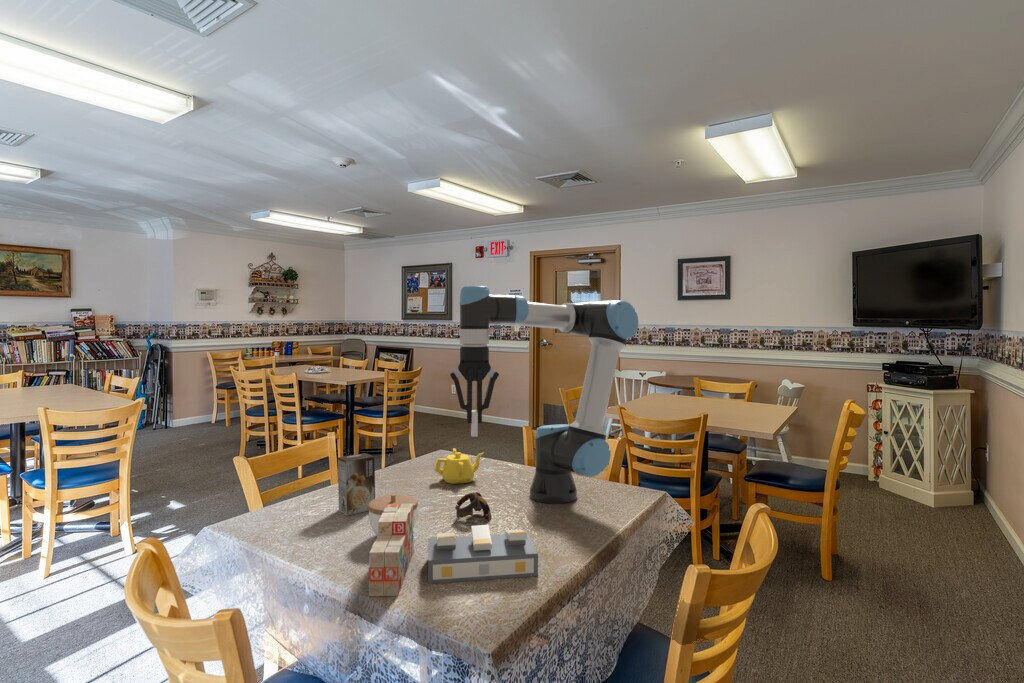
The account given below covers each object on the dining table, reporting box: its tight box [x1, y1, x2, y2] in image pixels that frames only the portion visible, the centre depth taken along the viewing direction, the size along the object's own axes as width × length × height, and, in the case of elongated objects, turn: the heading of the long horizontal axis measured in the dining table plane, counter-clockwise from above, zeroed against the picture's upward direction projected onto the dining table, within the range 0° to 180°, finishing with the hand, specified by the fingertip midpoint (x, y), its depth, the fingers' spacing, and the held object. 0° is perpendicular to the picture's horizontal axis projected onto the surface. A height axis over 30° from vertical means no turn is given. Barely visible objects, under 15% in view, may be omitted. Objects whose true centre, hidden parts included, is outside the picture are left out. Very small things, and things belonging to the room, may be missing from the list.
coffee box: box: [337, 452, 376, 517], centre depth 160 cm, size 9×6×16 cm
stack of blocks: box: [368, 504, 415, 597], centre depth 120 cm, size 21×6×12 cm, turn 2°
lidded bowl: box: [368, 493, 419, 537], centre depth 140 cm, size 13×13×11 cm
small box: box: [504, 529, 528, 541], centre depth 124 cm, size 4×7×2 cm, turn 9°
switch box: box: [427, 532, 539, 584], centre depth 123 cm, size 24×12×6 cm, turn 99°
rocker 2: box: [470, 524, 492, 551], centre depth 122 cm, size 4×7×2 cm, turn 9°
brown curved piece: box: [454, 491, 493, 522], centre depth 154 cm, size 12×10×8 cm
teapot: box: [434, 447, 485, 485], centre depth 191 cm, size 14×13×10 cm
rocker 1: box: [436, 532, 456, 546], centre depth 121 cm, size 4×7×2 cm, turn 9°
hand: (474, 435), depth 141 cm, fingers closed
